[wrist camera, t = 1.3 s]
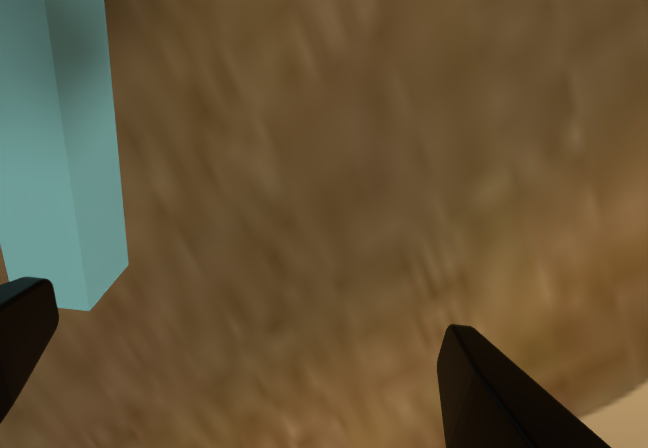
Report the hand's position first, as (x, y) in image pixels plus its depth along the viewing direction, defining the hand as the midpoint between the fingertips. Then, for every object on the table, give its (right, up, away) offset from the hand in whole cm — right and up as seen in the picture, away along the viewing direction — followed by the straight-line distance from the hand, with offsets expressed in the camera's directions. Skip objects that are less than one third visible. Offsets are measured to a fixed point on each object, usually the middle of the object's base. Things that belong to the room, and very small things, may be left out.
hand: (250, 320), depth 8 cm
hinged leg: (-7, +7, +6) cm, 11 cm away
